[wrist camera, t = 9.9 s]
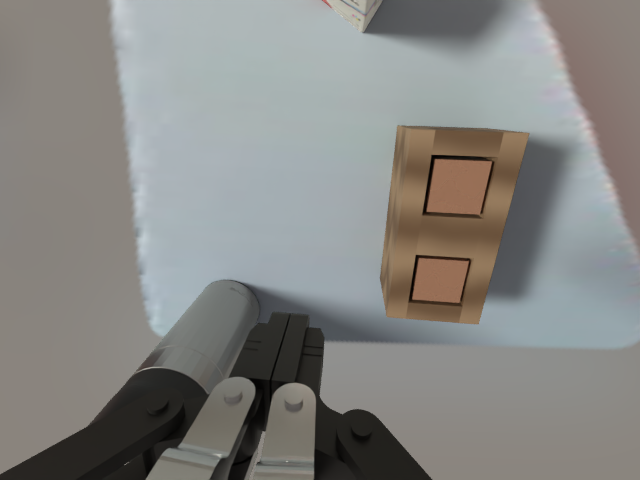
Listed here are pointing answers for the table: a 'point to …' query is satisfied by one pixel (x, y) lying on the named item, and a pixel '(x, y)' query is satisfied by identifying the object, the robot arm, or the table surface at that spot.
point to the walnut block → (446, 218)
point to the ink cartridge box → (355, 11)
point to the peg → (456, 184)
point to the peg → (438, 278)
